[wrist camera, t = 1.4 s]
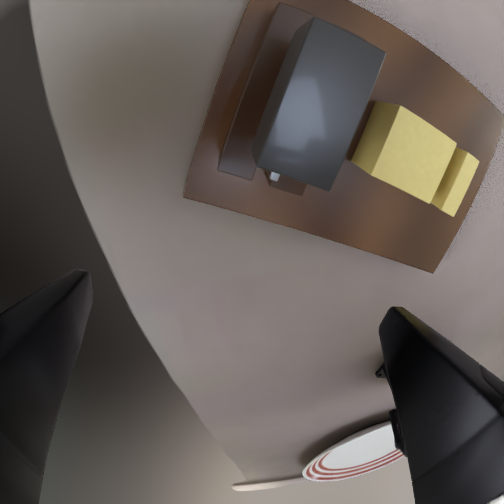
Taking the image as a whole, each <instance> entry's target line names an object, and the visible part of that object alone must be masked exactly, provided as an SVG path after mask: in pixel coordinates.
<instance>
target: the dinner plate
mask: <svg viewBox="0 0 504 504" xmlns="http://www.w3.org/2000/svg"><path fill="white" fill-rule="evenodd" d="M402 457H404V454H403V453H402V452H401V450H398V449H396V448H395V443H394V434H393V430H392V426H391V422H390V421H387V422H383V423H380V424H377V425H374V426H371V427H369V428H366V429H364V430H361V431H359V432H357V433H355V434H353V435H351V436H349V437H347V438H345V439H343V440H341V441H340V442H338V443H337V444H335V445H333V446H331V447H330V448H328V449H327V450H325V451H323V452H322V453H321V454H319V455H318V456H316V457H315V458H314V459H313V460H311V461H310V462H309V463H308V464H307V466H306V467H305V468H304V470H303V472H302V474H303V476H304V477H305V478H306V479H308V480H312V481H336V480H342V479H347V478H351V477H355V476H359V475H362V474H365V473H368V472H371V471H374V470H377V469H379V468H381V467H384V466H386V465H388V464H390V463H392V462H394V461H396V460H398V459H400V458H402Z"/></svg>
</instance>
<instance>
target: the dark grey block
mask: <svg viewBox="0 0 504 504" xmlns="http://www.w3.org/2000/svg"><path fill="white" fill-rule="evenodd" d="M385 56H386V52H385V51H383V50H381V49H380V48H378V47H376V46H374V45H373V44H371V43H369V42H367V41H365V40H363V39H361V38H360V37H358V36H356V35H354V34H352V33H350V32H348V31H346V30H344V29H342V28H340V27H337V26H335V25H333V24H331V23H329V22H327V21H324V20H322V19H320V18H317V17H312V18H311V19H310V20H308V21H307V22H306V23H305V24H303V25H302V26H301V27H300V28H298V29H297V30H296V31H295V33H294V36H293V38H292V41H291V43H290V46H289V48H288V51H287V53H286V56H285V58H284V61H283V63H282V66H281V68H280V71H279V74H278V76H277V79H276V81H275V84H274V87H273V89H272V92H271V94H270V97H269V100H268V102H267V105H266V108H265V110H264V113H263V116H262V118H261V121H260V124H259V127H258V129H257V132H256V135H255V138H254V140H253V143H252V146H251V149H250V151H251V153H252V156H253V159H254V162H255V165H256V167H258V168H261V169H264V170H266V172H267V174H268V176H269V178H270V179H271V180H274V181H278V178H279V176H280V175H283V176H286V177H289V178H292V179H295V180H297V181H300V182H303V183H306V184H309V185H312V186H314V187H317V188H320V189H323V190H325V191H330V190H331V188H332V186H333V184H334V181H335V179H336V177H337V174H338V172H339V170H340V168H341V165H342V163H343V161H344V158H345V156H346V154H347V151H348V149H349V147H350V144H351V142H352V140H353V137H354V135H355V132H356V130H357V128H358V125H359V123H360V120H361V118H362V115H363V113H364V110H365V108H366V105H367V103H368V100H369V98H370V95H371V93H372V90H373V88H374V85H375V83H376V80H377V78H378V75H379V72H380V70H381V67H382V64H383V62H384V59H385Z"/></svg>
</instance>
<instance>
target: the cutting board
mask: <svg viewBox="0 0 504 504" xmlns="http://www.w3.org/2000/svg"><path fill="white" fill-rule="evenodd" d="M312 17H317V18H320V19H322V20H324V21H327V22H329V23H331V24H333V25H335V26H337V27H340V28H342V29H344V30H346V31H348V32H350V33H352V34H354V35H356V36H358V37H360V38H361V39H363V40H365V41H367V42H369V43H371V44H373V45H374V46H376V47H378V48H380V49H381V50H383V51H385V52H386V56H385V59H384V62H383V64H382V67H381V70H380V72H379V75H378V78H377V80H376V83H375V85H374V88H373V90H372V93H371V95H370V98H369V100H368V103H367V105H366V108H365V110H364V113H363V115H362V118H361V120H360V123H359V125H358V128H357V130H356V132H355V135H354V137H353V140H352V142H351V144H350V147H349V149H348V151H347V154H346V156H345V158H344V161H343V163H342V165H341V168H340V170H339V172H338V174H337V177H336V179H335V181H334V184H333V186H332V188H331V190H330V191H325V190H323V189H320V188H317V187H314V186H312V185H309V184H306V183H303V182H300V181H297V180H295V179H292V178H289V177H286V176H283V175H280V176H279V178H278V181H274V180H271V179H270V178H269V176H268V174H267V172H266V170H264V169H261V168H258V167H256V165H255V162H254V159H253V156H252V153H251V151H250V149H251V146H252V143H253V140H254V138H255V135H256V132H257V129H258V127H259V124H260V121H261V118H262V116H263V113H264V110H265V108H266V105H267V102H268V100H269V97H270V94H271V92H272V89H273V87H274V84H275V81H276V79H277V76H278V74H279V71H280V68H281V66H282V63H283V61H284V58H285V56H286V53H287V51H288V48H289V46H290V43H291V41H292V38H293V36H294V33H295V31H296V30H297V29H298V28H300V27H301V26H302V25H303V24H305V23H306V22H307V21H308V20H310V19H311V18H312ZM376 101H380V102H385V103H391V104H396V105H401V106H403V107H404V108H406V109H408V110H409V111H411V112H412V113H414V114H415V115H417V116H419V117H420V118H422V119H423V120H425V121H426V122H428V123H429V124H431V125H432V126H434V127H435V128H436V129H438V130H439V131H441V132H442V133H444V134H445V135H446V136H448V137H449V138H451V139H452V140H453V141H455V142H456V143H457V145H456V147H458V148H460V149H462V150H465V151H467V152H469V153H470V154H471V155H473V156H474V157H475V158H476V159H477V160H479V164H478V167H477V169H476V171H475V174H474V176H473V178H472V180H471V182H470V185H469V187H468V189H467V191H466V193H465V195H464V197H463V200H462V202H461V204H460V206H459V208H458V210H457V212H456V214H455V216H454V217H452V216H450V215H449V214H447V213H445V212H443V211H441V210H440V209H439V208H437V207H436V206H435V205H433V204H432V203H431V202H430V204H428V203H426V202H425V201H423V200H421V199H419V198H417V197H415V196H413V195H411V194H409V193H407V192H405V191H403V190H401V189H399V188H397V187H395V186H393V185H391V184H388V183H386V182H384V181H382V180H380V179H378V178H376V177H373V176H371V175H370V174H368V173H367V172H365V171H364V170H363V169H361V168H360V167H358V166H357V165H355V164H354V163H352V162H351V160H352V157H353V155H354V153H355V150H356V148H357V146H358V143H359V141H360V139H361V136H362V134H363V131H364V129H365V127H366V124H367V122H368V119H369V117H370V114H371V112H372V109H373V107H374V104H375V102H376ZM503 128H504V115H503V114H502V113H501V112H500V111H499V110H498V109H497V108H496V107H495V106H494V105H493V104H492V103H491V102H490V101H489V100H488V99H487V98H486V97H485V96H484V95H483V94H482V93H481V92H480V91H479V90H478V89H477V88H475V87H474V86H473V85H472V84H471V83H470V82H469V81H468V80H467V79H465V78H464V77H463V76H462V75H461V74H460V73H458V72H457V71H456V70H455V69H454V68H452V67H451V66H450V65H449V64H447V63H446V62H445V61H444V60H442V59H441V58H440V57H438V56H437V55H436V54H435V53H433V52H432V51H430V50H429V49H428V48H426V47H425V46H424V45H422V44H421V43H419V42H418V41H416V40H415V39H413V38H412V37H411V36H409V35H407V34H406V33H404V32H403V31H401V30H400V29H398V28H397V27H395V26H393V25H392V24H390V23H388V22H387V21H385V20H383V19H382V18H380V17H378V16H376V15H375V14H373V13H371V12H369V11H367V10H366V9H364V8H362V7H360V6H358V5H356V4H354V3H352V2H350V1H348V0H250V1H249V4H248V6H247V8H246V11H245V13H244V15H243V18H242V20H241V23H240V25H239V27H238V30H237V32H236V35H235V37H234V40H233V42H232V45H231V48H230V50H229V53H228V55H227V58H226V61H225V63H224V66H223V69H222V72H221V74H220V77H219V80H218V83H217V86H216V88H215V91H214V94H213V97H212V100H211V103H210V106H209V109H208V112H207V115H206V118H205V121H204V124H203V127H202V131H201V134H200V137H199V140H198V143H197V147H196V150H195V153H194V157H193V160H192V164H191V167H190V171H189V174H188V178H187V181H186V185H185V188H184V192H183V197H184V198H188V199H191V200H195V201H199V202H202V203H206V204H210V205H213V206H217V207H221V208H224V209H228V210H231V211H235V212H238V213H242V214H245V215H249V216H252V217H256V218H259V219H263V220H266V221H270V222H273V223H276V224H280V225H283V226H287V227H290V228H293V229H297V230H300V231H303V232H306V233H310V234H313V235H316V236H320V237H323V238H326V239H329V240H332V241H336V242H339V243H342V244H345V245H348V246H351V247H355V248H358V249H361V250H364V251H367V252H370V253H373V254H376V255H379V256H382V257H385V258H388V259H391V260H394V261H397V262H400V263H403V264H406V265H409V266H412V267H415V268H418V269H421V270H424V271H427V272H430V273H434V271H435V270H436V268H437V266H438V265H439V263H440V261H441V260H442V258H443V256H444V255H445V253H446V251H447V250H448V248H449V246H450V244H451V243H452V241H453V239H454V237H455V235H456V234H457V232H458V230H459V228H460V226H461V224H462V222H463V220H464V218H465V216H466V215H467V213H468V211H469V209H470V207H471V204H472V202H473V200H474V198H475V196H476V194H477V192H478V190H479V188H480V185H481V183H482V181H483V179H484V176H485V174H486V172H487V169H488V167H489V165H490V162H491V160H492V157H493V155H494V152H495V150H496V147H497V144H498V142H499V139H500V136H501V133H502V130H503Z"/></svg>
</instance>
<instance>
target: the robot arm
mask: <svg viewBox="0 0 504 504" xmlns="http://www.w3.org/2000/svg"><path fill="white" fill-rule="evenodd" d="M92 301H93V292H92V284H91V276H90V273H89V272H88V271H87V270H81V269H75V270H73V271H71V272H69V273H68V274H66V275H64V276H62V277H60V278H59V279H57V280H55V281H54V282H52V283H50V284H48V285H47V286H45V287H43V288H42V289H40V290H38V291H36V292H35V293H33V294H31V295H30V296H28V297H26V298H25V299H23V300H22V301H20V302H18V303H17V304H15V305H13V306H12V307H10V308H9V309H7V310H5V311H4V312H2V313H1V314H0V504H39V499H40V492H41V487H42V481H43V475H44V470H45V466H46V460H47V456H48V452H49V448H50V443H51V440H52V436H53V432H54V428H55V424H56V421H57V417H58V414H59V410H60V407H61V403H62V400H63V397H64V394H65V390H66V387H67V384H68V381H69V378H70V375H71V372H72V369H73V367H74V363H75V361H76V358H77V355H78V352H79V349H80V346H81V342H82V339H83V335H84V331H85V327H86V323H87V319H88V315H89V312H90V309H91V305H92ZM379 336H380V340H381V345H382V350H383V356H384V361H385V362H384V364H383V365H382V366H381V367H380V368H379V369H378V371H377V372H376V373H375V375H376V377H378V378H386V379H387V381H388V383H389V386H390V388H391V390H392V394H393V398H394V402H395V406H396V409H394V410H391V411H389V414H390V418H389V419H390V422H391V426H392V430H393V434H394V443H395V448H396V449H398V450H401V452H402V453H403V454H404V456H406V457H407V458H408V463H409V468H410V473H411V479H412V481H413V482H412V486H413V492H414V498H415V504H504V382H503V381H502V380H500V379H499V378H498V377H496V376H495V375H494V374H492V373H491V372H490V371H488V370H487V369H486V368H484V367H483V366H482V365H479V363H478V362H476V361H475V360H474V359H473V358H471V357H470V356H469V355H467V354H466V353H465V352H463V351H462V350H461V349H459V348H458V347H457V346H455V345H454V344H453V343H451V342H450V341H449V340H447V339H446V338H444V337H443V336H442V335H440V334H439V333H438V332H436V331H435V330H434V329H432V328H431V327H429V326H428V325H427V324H425V323H424V322H422V321H421V320H420V319H418V318H417V317H416V316H414V315H413V314H411V313H410V312H409V311H407V310H406V309H404V308H403V307H394V306H393V307H391V308H390V309H389V310H388V311H387V313H386V315H385V317H384V319H383V320H382V322H381V324H380V326H379Z"/></svg>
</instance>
